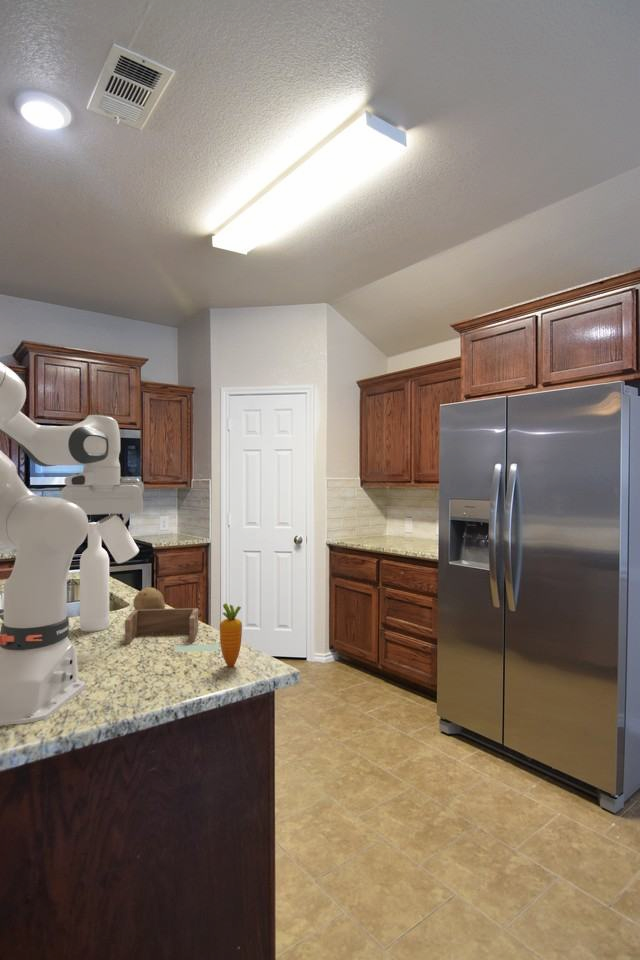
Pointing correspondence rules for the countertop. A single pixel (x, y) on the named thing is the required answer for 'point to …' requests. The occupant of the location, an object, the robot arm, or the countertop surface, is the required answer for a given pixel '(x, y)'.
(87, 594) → the bottle
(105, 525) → the can
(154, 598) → the natural sponge
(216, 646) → the mat
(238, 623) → the carrot
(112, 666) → the countertop surface
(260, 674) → the countertop surface
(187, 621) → the brown wooden u-shaped frame
